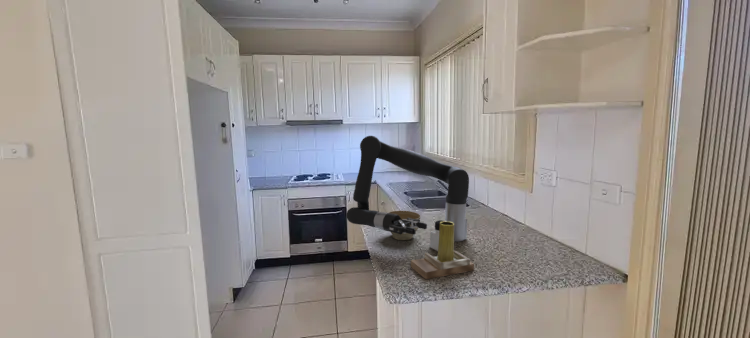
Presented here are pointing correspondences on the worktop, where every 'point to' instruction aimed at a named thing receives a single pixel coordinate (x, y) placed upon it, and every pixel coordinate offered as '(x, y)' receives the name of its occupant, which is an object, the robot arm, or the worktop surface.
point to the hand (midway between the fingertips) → (420, 229)
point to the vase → (446, 242)
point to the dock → (441, 266)
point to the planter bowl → (404, 216)
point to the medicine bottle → (435, 236)
